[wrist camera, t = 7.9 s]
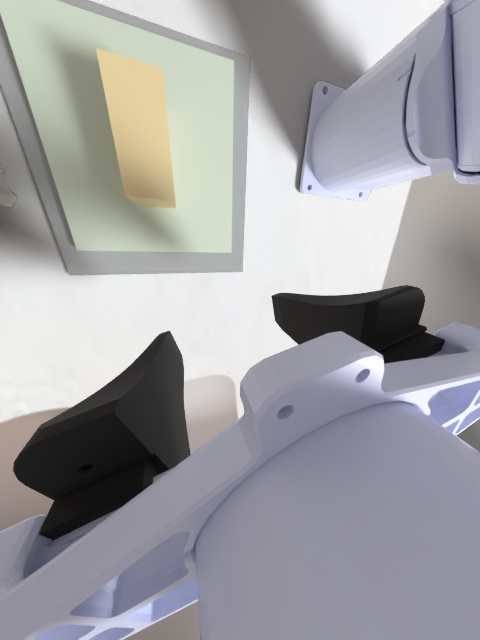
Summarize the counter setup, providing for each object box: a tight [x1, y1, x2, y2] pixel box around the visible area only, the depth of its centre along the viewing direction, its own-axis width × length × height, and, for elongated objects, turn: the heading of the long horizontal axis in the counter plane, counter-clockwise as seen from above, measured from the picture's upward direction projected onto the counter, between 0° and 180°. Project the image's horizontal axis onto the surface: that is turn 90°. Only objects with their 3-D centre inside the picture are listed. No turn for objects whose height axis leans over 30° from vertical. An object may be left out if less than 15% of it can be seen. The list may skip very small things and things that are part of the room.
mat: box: [0, 0, 250, 275], centre depth 15 cm, size 16×16×1 cm
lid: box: [0, 0, 234, 253], centre depth 12 cm, size 13×13×5 cm
